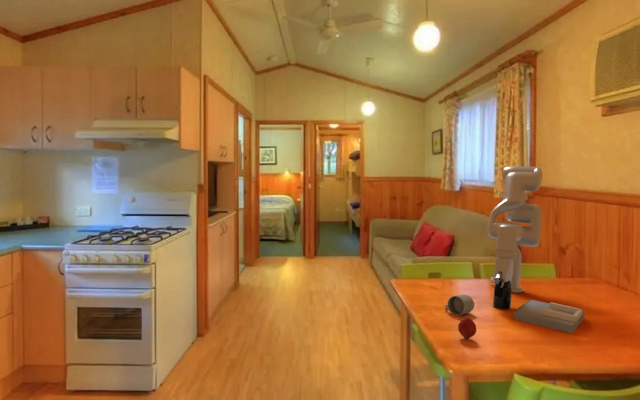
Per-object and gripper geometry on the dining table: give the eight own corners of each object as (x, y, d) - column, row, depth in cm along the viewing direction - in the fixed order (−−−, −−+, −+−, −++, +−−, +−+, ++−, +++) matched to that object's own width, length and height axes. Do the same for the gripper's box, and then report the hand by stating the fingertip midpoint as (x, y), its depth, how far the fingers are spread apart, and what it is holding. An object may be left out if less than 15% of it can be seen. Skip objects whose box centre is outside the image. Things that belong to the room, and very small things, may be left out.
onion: (454, 335, 143) (456, 312, 142) (470, 335, 143) (472, 312, 143) (461, 342, 137) (463, 319, 137) (478, 342, 138) (480, 319, 137)
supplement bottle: (512, 310, 171) (514, 282, 170) (494, 309, 172) (496, 280, 171) (508, 305, 178) (510, 278, 177) (491, 303, 179) (493, 276, 178)
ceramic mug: (475, 314, 165) (476, 295, 165) (463, 318, 160) (464, 298, 160) (451, 307, 173) (452, 289, 173) (440, 310, 168) (441, 292, 168)
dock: (513, 318, 162) (514, 306, 161) (529, 306, 178) (530, 294, 177) (572, 333, 148) (573, 320, 148) (584, 318, 165) (585, 306, 164)
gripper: (503, 250, 182) (500, 289, 183) (488, 255, 169) (485, 296, 170) (521, 253, 177) (518, 292, 178) (508, 258, 164) (504, 300, 165)
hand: (502, 294), depth 174 cm, fingers open, 9 cm apart
